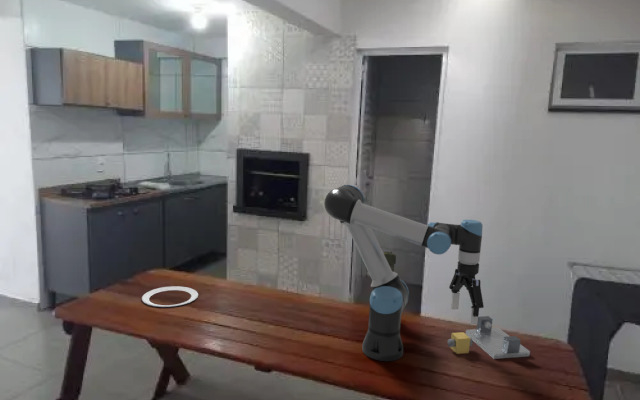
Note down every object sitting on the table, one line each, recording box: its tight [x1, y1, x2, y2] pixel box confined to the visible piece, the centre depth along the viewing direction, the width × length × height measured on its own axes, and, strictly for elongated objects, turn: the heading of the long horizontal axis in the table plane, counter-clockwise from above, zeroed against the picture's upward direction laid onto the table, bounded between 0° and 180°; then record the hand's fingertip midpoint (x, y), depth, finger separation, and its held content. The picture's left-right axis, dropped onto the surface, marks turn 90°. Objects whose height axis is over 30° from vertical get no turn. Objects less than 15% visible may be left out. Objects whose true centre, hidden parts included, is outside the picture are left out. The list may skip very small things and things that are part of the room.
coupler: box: [447, 331, 474, 355], centre depth 173 cm, size 9×5×6 cm, turn 102°
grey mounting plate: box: [465, 315, 531, 360], centre depth 178 cm, size 21×15×7 cm
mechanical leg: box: [383, 251, 397, 272], centre depth 199 cm, size 14×7×30 cm, turn 169°
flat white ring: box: [141, 285, 199, 308], centre depth 211 cm, size 25×25×1 cm
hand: (463, 316), depth 171 cm, fingers open, 13 cm apart
